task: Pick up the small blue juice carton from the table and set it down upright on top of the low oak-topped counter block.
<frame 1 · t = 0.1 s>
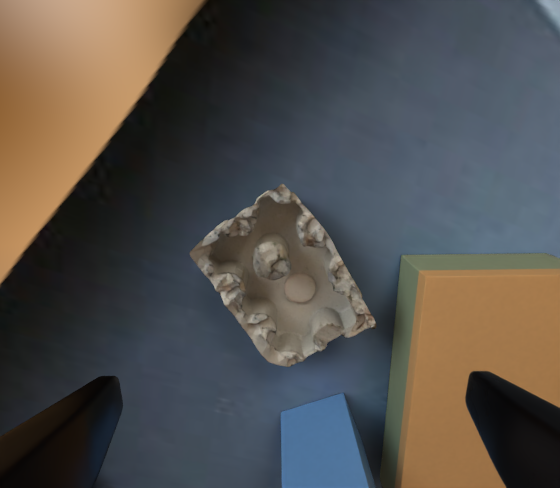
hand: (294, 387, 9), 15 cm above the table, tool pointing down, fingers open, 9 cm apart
counter: (454, 377, 26), on the table
carton: (322, 427, 27), on the table
egg carton: (283, 268, 24), on the table
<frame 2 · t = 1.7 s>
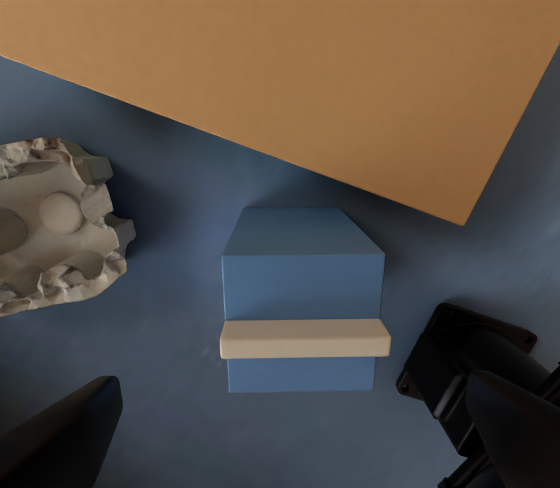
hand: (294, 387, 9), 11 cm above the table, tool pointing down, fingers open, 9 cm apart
counter: (274, 31, 16), on the table
carton: (290, 253, 19), on the table
egg carton: (39, 223, 18), on the table
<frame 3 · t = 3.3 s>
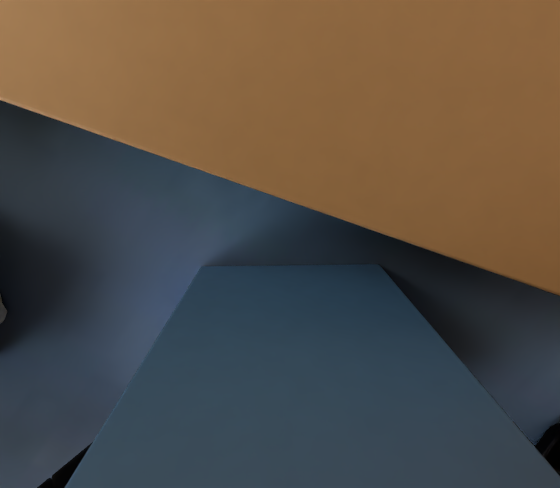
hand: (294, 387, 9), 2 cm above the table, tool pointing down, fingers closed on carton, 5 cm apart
carton: (290, 342, 11), on the table, touching gripper
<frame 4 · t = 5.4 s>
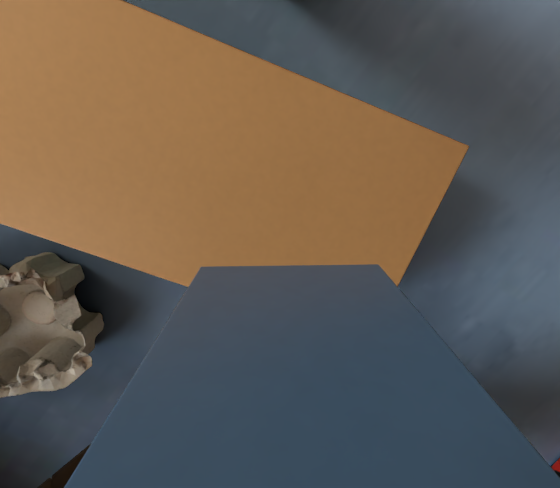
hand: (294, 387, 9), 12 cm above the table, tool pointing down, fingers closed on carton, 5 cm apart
counter: (219, 169, 19), on the table
carton: (290, 343, 11), point 10 cm above the table, touching gripper
egg carton: (22, 313, 22), on the table
when the fingers open (6 cm above the table, at t = 7.5 s): carton stays where it is, resting on counter.
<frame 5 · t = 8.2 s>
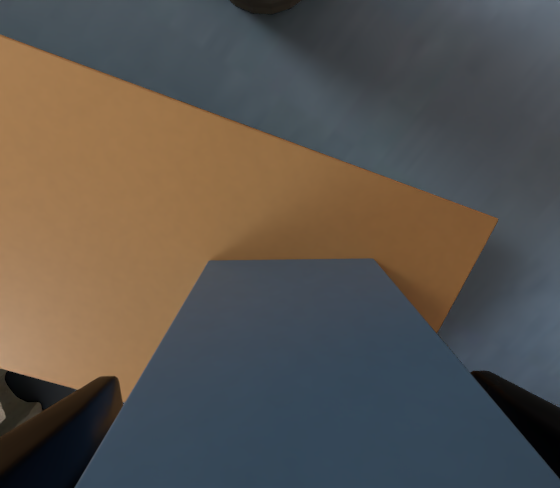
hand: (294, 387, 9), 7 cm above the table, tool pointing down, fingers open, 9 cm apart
counter: (174, 231, 15), on the table
carton: (291, 332, 11), point 4 cm above the table, touching counter
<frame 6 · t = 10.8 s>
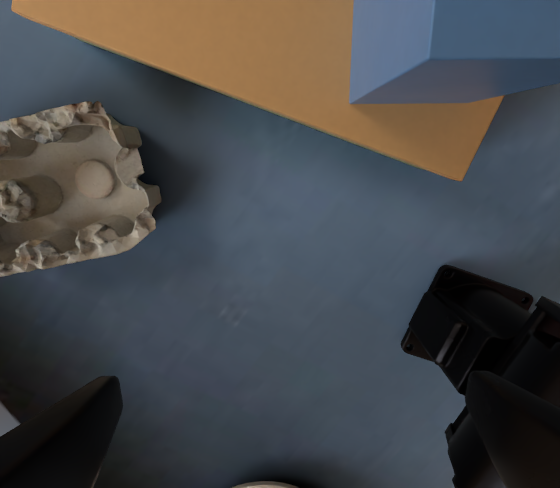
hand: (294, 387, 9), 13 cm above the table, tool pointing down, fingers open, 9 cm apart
counter: (289, 10, 18), on the table
carton: (414, 35, 14), point 4 cm above the table, touching counter
egg carton: (73, 189, 20), on the table
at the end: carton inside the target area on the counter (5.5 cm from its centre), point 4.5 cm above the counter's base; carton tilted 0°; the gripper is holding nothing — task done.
